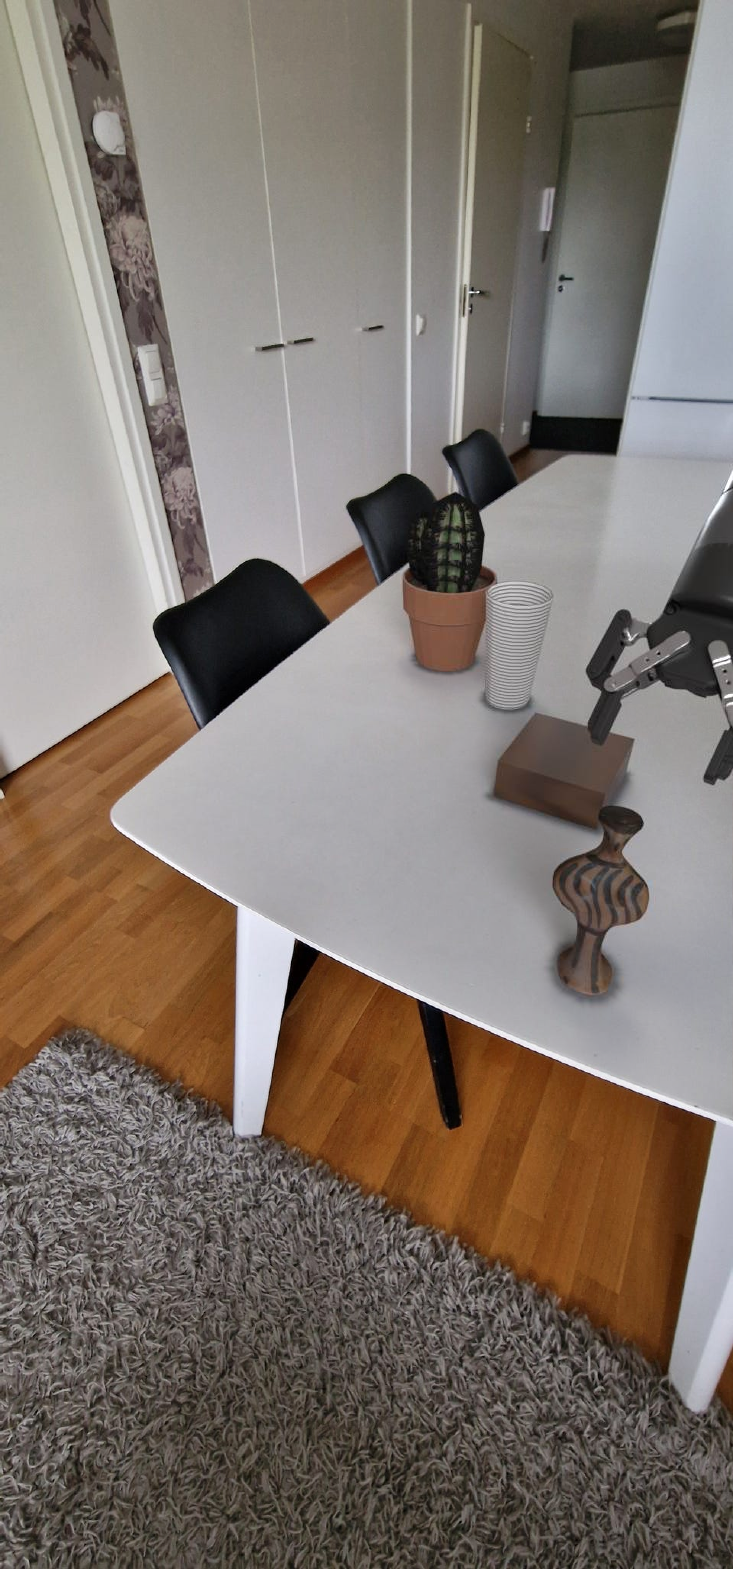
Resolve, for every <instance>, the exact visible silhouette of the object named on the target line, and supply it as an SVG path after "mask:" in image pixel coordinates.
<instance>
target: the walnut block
mask: <svg viewBox="0 0 733 1569" xmlns="http://www.w3.org/2000/svg"><path fill="white" fill-rule="evenodd" d="M587 728H588V725H585V724H581V723H578V722H573V721H569V720H566V719H562V718H558V717H555V716H551V715H548V714H543V713H539V712H534V713H533V715H531V717H530V719H529V720H528V721H527V723H526V724H525V725H524V726H523V728H522V729H521V730H520V731H519V733H518V734H517V735H516V737H515V738H514V739H513V740H512V741H511V743H510V744H509V746H508V747H507V748H506V749H505V751H504V752H503V753H502V754H501V756H500V757H499V759H498V760H497V762H496V770H495V771H496V772H495V779H494V780H495V781H494V787H493V788H494V789H493V797H494V798H497V799H501V800H504V801H507V802H509V803H513V804H516V805H519V806H522V807H525V808H527V809H531V810H534V811H536V812H540V813H543V814H547V815H550V816H552V817H555V818H558V819H561V820H565V821H567V822H571V823H574V824H577V825H579V826H583V827H586V828H588V829H592V830H595V831H597V830H598V829H599V827H600V825H601V823H600V822H599V820H598V814H599V811H600V809H601V808H603V807H605V806H610V805H611V804H612V801H613V799H614V798H615V796H616V794H617V792H618V791H619V788H620V787H621V784H622V782H623V780H624V778H625V776H626V774H627V771H628V767H629V763H630V759H631V756H632V752H633V748H634V744H635V738H633V737H630V736H626V735H623V734H622V735H621V734H618V733H615V732H611V731H610V732H609V734H608V736H607V738H606V741H605V743H604V744H603V746H600V745H598V744H595V743H593V742H592V740H591V739H590V736H591V734H590V733H589V731H588V729H587Z"/></svg>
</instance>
